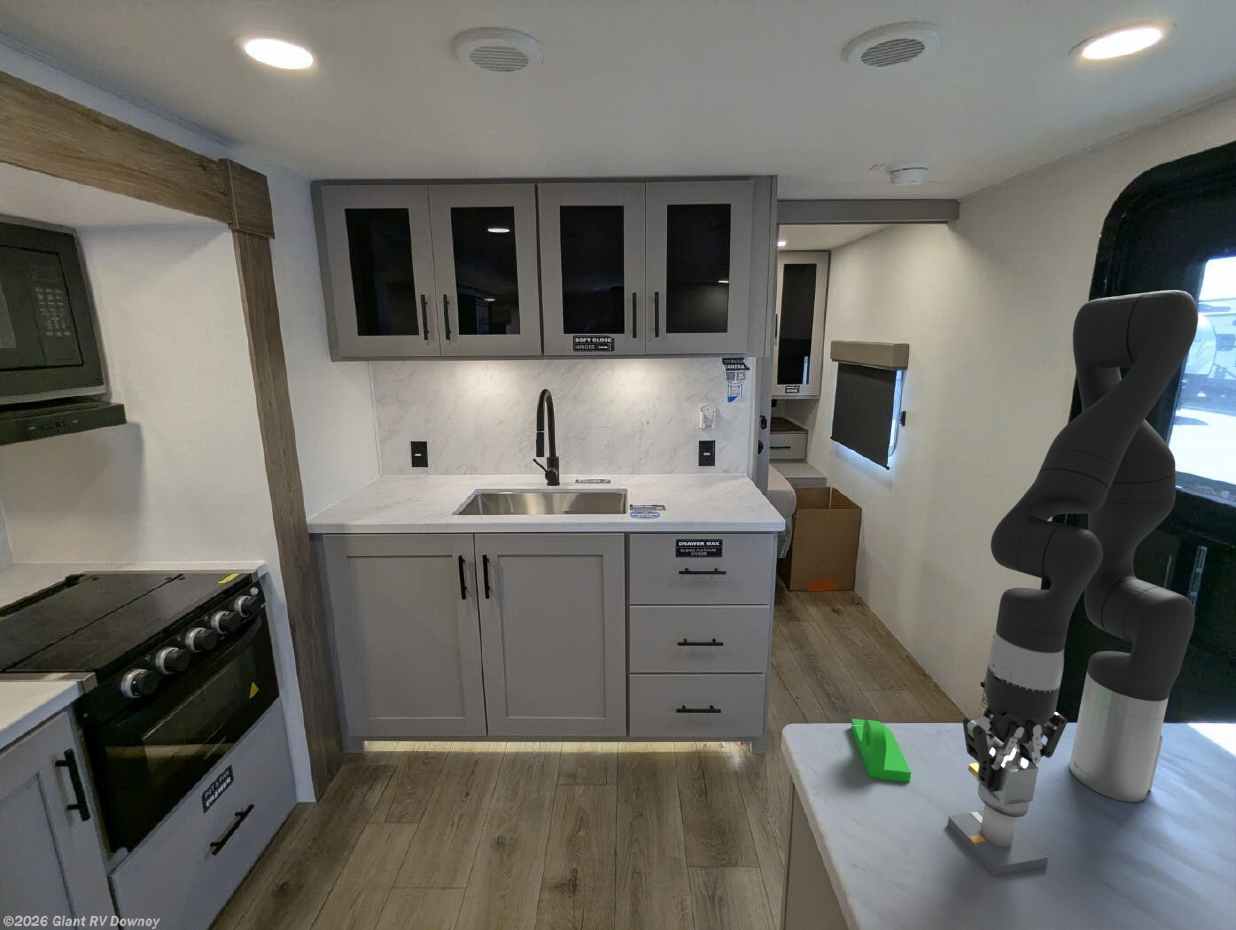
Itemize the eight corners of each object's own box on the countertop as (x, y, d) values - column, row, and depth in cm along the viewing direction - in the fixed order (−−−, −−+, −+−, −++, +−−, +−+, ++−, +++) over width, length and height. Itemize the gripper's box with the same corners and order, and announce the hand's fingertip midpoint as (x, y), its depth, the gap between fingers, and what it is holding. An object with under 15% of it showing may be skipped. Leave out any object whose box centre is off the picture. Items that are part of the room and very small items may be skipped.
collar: (988, 768, 79) (994, 729, 78) (1038, 813, 72) (1046, 770, 70) (954, 774, 78) (960, 733, 77) (1001, 820, 71) (1008, 776, 69)
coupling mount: (995, 816, 80) (1002, 775, 78) (1046, 866, 72) (1054, 822, 71) (947, 824, 79) (953, 783, 77) (993, 876, 71) (1001, 831, 69)
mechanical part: (909, 783, 86) (915, 739, 85) (869, 778, 87) (874, 735, 86) (886, 732, 98) (890, 692, 96) (851, 728, 99) (854, 689, 97)
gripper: (1044, 649, 75) (1025, 757, 78) (952, 659, 72) (936, 770, 76) (1100, 681, 67) (1076, 799, 71) (999, 694, 65) (980, 814, 69)
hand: (1004, 783), depth 73 cm, fingers closed on collar, 4 cm apart
